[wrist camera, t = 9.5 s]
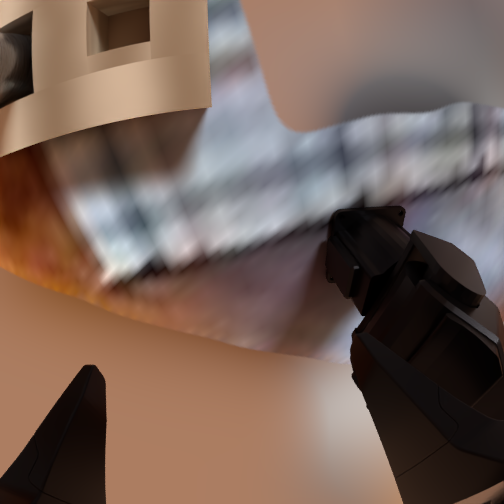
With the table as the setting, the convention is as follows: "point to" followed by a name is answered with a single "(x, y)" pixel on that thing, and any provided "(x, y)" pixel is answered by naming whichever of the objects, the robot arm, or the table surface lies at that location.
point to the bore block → (104, 64)
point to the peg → (15, 66)
